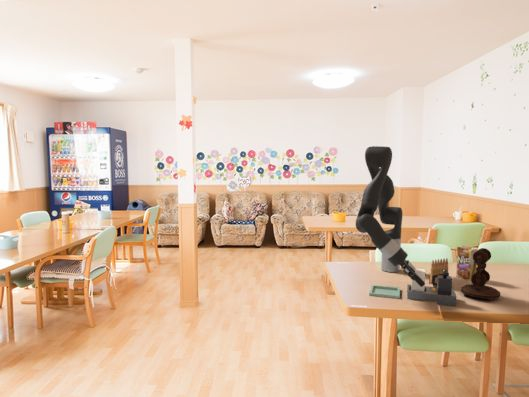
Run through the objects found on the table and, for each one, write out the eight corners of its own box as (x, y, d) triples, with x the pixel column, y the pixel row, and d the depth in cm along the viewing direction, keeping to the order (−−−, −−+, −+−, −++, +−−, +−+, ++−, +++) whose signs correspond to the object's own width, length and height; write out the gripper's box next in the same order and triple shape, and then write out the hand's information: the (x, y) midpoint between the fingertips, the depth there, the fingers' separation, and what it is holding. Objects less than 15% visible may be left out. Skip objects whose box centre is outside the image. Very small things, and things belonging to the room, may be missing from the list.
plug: (411, 291, 168) (411, 268, 167) (423, 293, 166) (424, 269, 166) (411, 294, 164) (412, 270, 163) (424, 296, 163) (425, 271, 162)
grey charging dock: (407, 293, 172) (408, 263, 170) (453, 298, 166) (454, 267, 165) (407, 301, 162) (408, 269, 161) (456, 306, 156) (457, 273, 155)
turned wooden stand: (465, 288, 179) (467, 244, 177) (503, 295, 170) (505, 249, 168) (456, 296, 168) (458, 250, 166) (496, 304, 158) (499, 255, 157)
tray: (371, 289, 177) (371, 284, 177) (399, 292, 174) (399, 287, 173) (369, 297, 166) (369, 293, 166) (399, 301, 162) (399, 296, 162)
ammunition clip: (432, 286, 182) (433, 260, 181) (428, 285, 184) (429, 259, 182) (448, 283, 186) (450, 258, 185) (445, 282, 188) (446, 257, 187)
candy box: (455, 276, 197) (456, 246, 196) (462, 276, 199) (463, 245, 197) (469, 281, 189) (470, 250, 188) (476, 281, 190) (478, 249, 189)
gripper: (399, 250, 159) (431, 282, 157) (400, 243, 173) (429, 273, 170) (385, 262, 162) (416, 294, 159) (387, 254, 175) (415, 284, 172)
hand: (422, 283), depth 164 cm, fingers closed on plug, 4 cm apart
